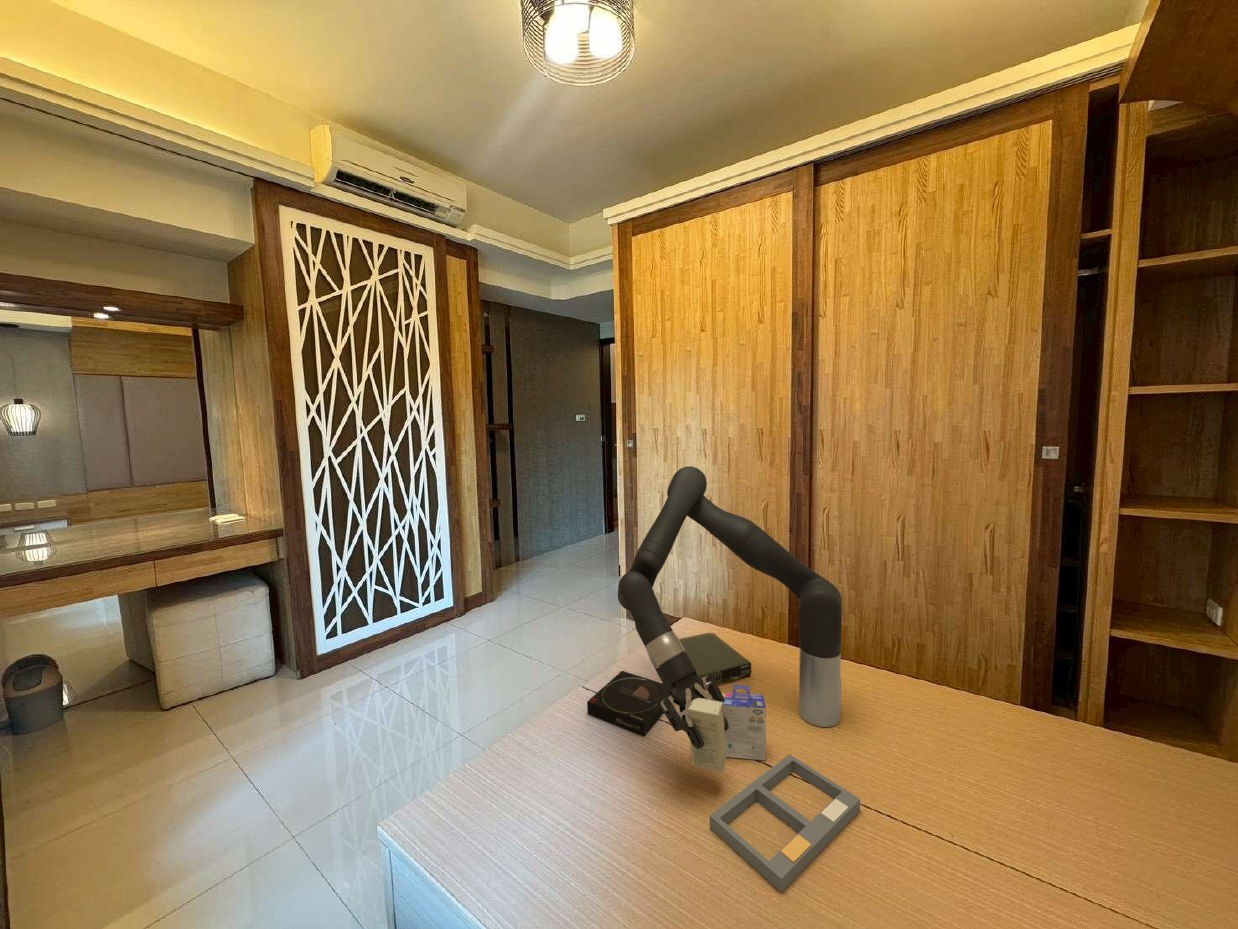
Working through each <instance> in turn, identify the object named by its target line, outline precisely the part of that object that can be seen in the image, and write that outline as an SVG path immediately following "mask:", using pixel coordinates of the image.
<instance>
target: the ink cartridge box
mask: <svg viewBox="0 0 1238 929" xmlns="http://www.w3.org/2000/svg"><path fill="white" fill-rule="evenodd" d="M732 687H733V688H732V692H723V691H721V693H722V695H723V697H724V699H725V701H724V702H723V712H724V716H725V718H726V719H727V721H728V724H729V725H728V726H729V729H728V730H726V731H725V744H726V758H732V759H733V758H735V759H744V760H745V759H746V760H753V761H754V760H757V761H766V760H767V759H766V758H767V757H766V756H767V755H766V753H767V752H766V751H767V750H766V749H767V748H766V744H767V741H766V739H767V738H766V736H767V735H766V733H767V732H766V731H767V730H766V729H767V728H766V726H767V724H766V720H767V719H766V718H767V717H766V715H767V714H766V712H767V711H766V708H767V707H766V702H765V697H764V695H763V694H761V693H760V694H758V693H751V691H750V685H739V684H732ZM737 690H738V691H739V690H744V691H746V692H736V691H737Z"/></svg>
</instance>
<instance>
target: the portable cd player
mask: <svg viewBox="0 0 1238 929" xmlns="http://www.w3.org/2000/svg"><path fill="white" fill-rule="evenodd" d="M668 697H669V692H668V690H667V689H666V688H665V687H664V685H663V683H662V682H660V681H656V680H653V679H650V678H647V677H642V676H640V675H637V674H634V673H630V672H628V671H626V670H625V671H624V670H621V671H619V673H617V674H616V675H615V676H614V677H613V678H612V679H611V680H610V681H609V682H608V683H606V684H605V685H604V686H603V687H602V688H601V689H599V691H597V692H596V693H595V694H593V696H592V697H590V699H589V700H588V701H587V702H586V705H587V715H588V716H590V717H593V718H595V719H597V720H600V721H603V722H604V723H608V724H610V725H613V726H614V727H615V726H616V727H618V728H621V729H623V730H625V731H628V732H631V733H632V734H636V735H638V736H641V737H643V738H645V737H646V736H647V735H648V733H649V732H650V731H651V729H652V728H653V727H655V725H656V724H657V723H658V721H659V720H660V719H661V718H662V717H663V715H665V714H664V712H663V711H662V709H661V707H660V705H659V704H660V702H661V701H663V700H664V699H666V698H668Z"/></svg>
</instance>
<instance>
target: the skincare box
mask: <svg viewBox="0 0 1238 929" xmlns="http://www.w3.org/2000/svg"><path fill="white" fill-rule="evenodd" d="M688 711H689V715H690V716H691V717H692V720H693V726H696V728H697V730H698V732H699V734H700V736H701V738H702V740H703V741H704V744H705V745H704V746H703V747H702V748H700V749H697V748H696V747H694V746H693V745H692V743H691V741H690V740H689V742H690V755H691V764H692V766H696V767H700V768H703V769H708V770H712V771H716V772H720V773H722V772H723V770H724V768H725V767H724V766H725V764H726V760H727V757H726V744H725V728H724V712H723V702H719V701H714V700H709V699H703V698H697V699H694V700H693V701H692V705H691V706H689V708H688Z"/></svg>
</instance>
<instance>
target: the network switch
mask: <svg viewBox="0 0 1238 929" xmlns="http://www.w3.org/2000/svg"><path fill="white" fill-rule="evenodd" d="M679 640H680V642H681V643H682V645H683V647H684V649H685V650H686V652H687V654H688V656H689V657H690V659H691V661H692V663H693V664H694V666H695V668H696V673H697V675H698V676H699V677H700V678H704V677H706V676H707V675H709V674H712V675H713V677H714V679H715V681H716V683H717V685H718V686H719V685H720V684H725V683H728V682H732V681H735V680H738V679H743V678H745V677H747V678H749V677H751V675H752V662H751V661H750V660H748V659H747V658H746V657H744V656H743V655H742V654H740V653H739V652H738V651H737V650H735V649H734V648H733V647H732V646H730V645H729V644H727V643H726V642H725V641H724V640H723V639H722V638H720V637H719V636H718V635H717V634H716V633H715V632H706V633H701V634H697V635H691V636H687V637H682V638H679Z"/></svg>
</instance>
